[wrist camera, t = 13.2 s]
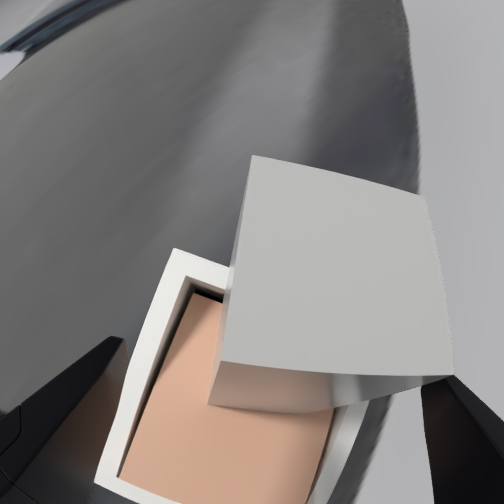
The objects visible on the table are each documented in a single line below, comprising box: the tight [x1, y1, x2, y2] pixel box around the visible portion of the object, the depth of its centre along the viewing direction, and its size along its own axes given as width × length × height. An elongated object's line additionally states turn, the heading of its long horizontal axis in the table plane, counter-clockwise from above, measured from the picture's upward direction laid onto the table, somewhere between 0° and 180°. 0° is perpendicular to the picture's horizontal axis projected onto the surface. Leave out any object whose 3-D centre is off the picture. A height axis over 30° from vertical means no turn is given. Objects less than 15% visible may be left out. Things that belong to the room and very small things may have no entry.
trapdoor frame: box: [94, 248, 370, 504], centre depth 18 cm, size 15×13×5 cm
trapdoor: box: [119, 293, 334, 504], centre depth 17 cm, size 12×10×4 cm
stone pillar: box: [207, 155, 454, 414], centre depth 12 cm, size 5×5×12 cm
